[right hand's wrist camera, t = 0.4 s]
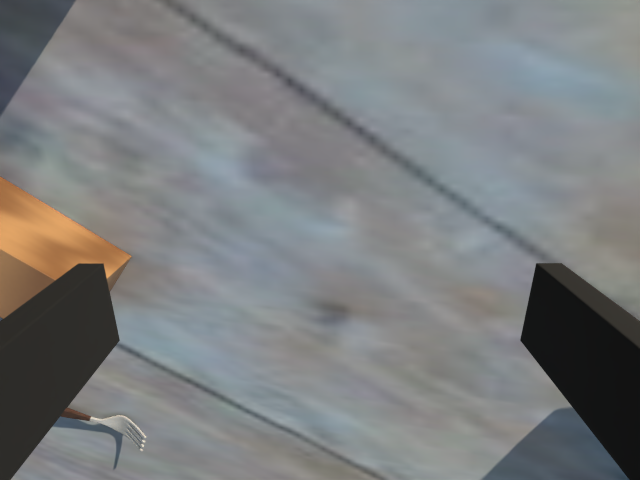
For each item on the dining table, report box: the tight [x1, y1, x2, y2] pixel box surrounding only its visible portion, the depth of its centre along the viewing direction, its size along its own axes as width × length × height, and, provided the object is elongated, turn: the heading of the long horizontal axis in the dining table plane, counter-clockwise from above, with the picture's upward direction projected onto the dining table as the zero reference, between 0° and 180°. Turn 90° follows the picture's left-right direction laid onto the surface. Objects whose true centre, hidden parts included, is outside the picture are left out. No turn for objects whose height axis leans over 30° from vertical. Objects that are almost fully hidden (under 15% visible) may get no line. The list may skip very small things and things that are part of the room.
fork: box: [61, 408, 146, 451], centre depth 46 cm, size 3×16×2 cm, turn 70°
